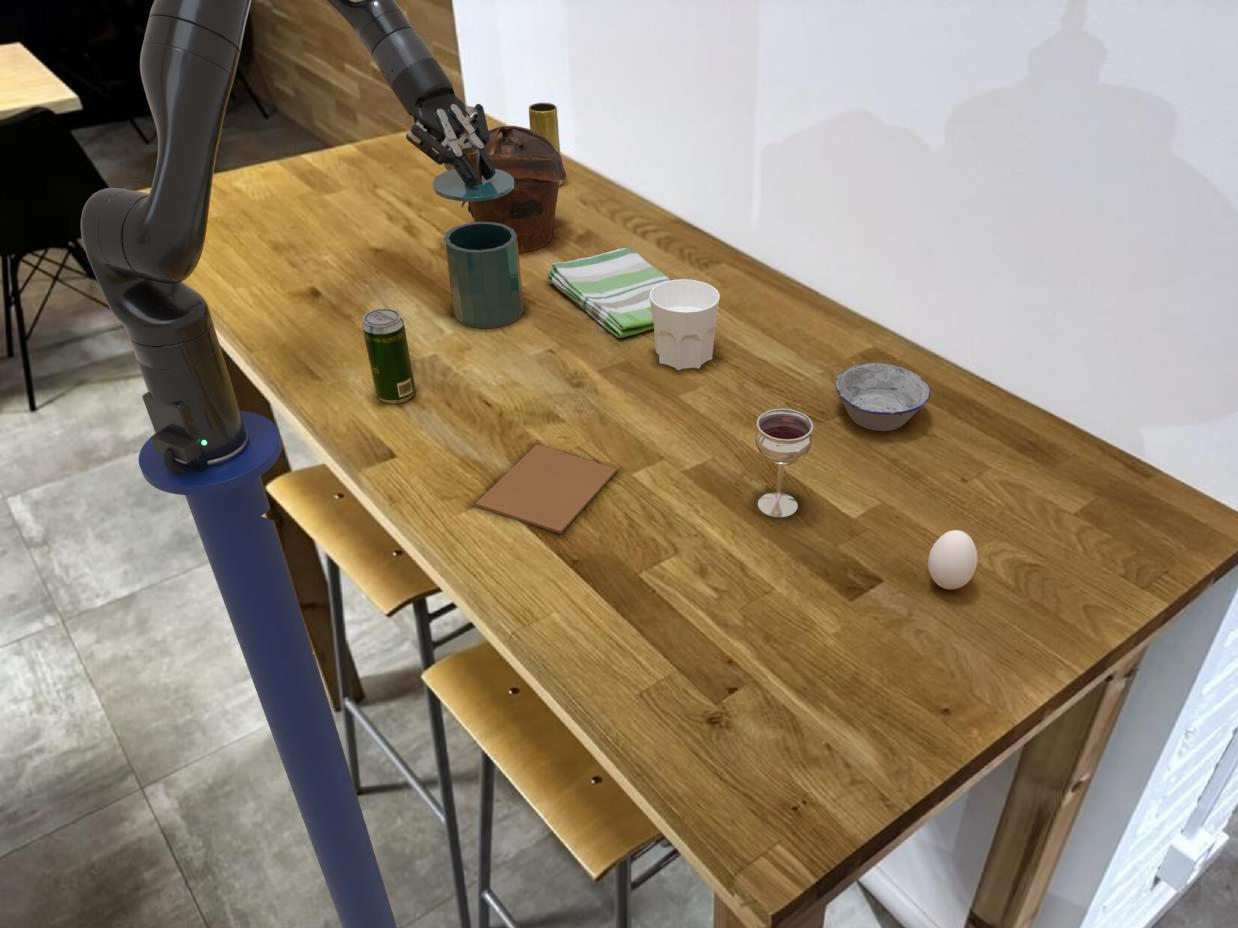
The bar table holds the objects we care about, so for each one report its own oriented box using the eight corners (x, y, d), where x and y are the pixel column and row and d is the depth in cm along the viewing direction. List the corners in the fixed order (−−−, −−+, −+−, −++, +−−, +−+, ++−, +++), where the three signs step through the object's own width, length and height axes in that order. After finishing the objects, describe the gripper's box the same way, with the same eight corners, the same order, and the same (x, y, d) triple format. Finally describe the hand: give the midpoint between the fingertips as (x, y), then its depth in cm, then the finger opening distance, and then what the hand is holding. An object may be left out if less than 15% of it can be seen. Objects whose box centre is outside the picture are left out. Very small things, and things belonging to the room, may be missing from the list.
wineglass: (753, 522, 130) (758, 441, 123) (748, 488, 136) (753, 408, 128) (808, 521, 131) (817, 440, 123) (801, 487, 136) (809, 408, 128)
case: (521, 206, 199) (512, 107, 188) (591, 240, 189) (586, 138, 178) (440, 233, 189) (425, 131, 178) (510, 271, 179) (499, 165, 168)
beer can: (424, 391, 150) (411, 314, 143) (397, 409, 147) (382, 331, 139) (395, 380, 152) (381, 303, 145) (368, 397, 149) (351, 320, 141)
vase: (525, 182, 208) (519, 107, 199) (547, 173, 212) (542, 99, 203) (549, 190, 205) (543, 115, 196) (570, 181, 209) (566, 106, 200)
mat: (561, 534, 128) (560, 531, 127) (476, 506, 131) (475, 503, 131) (617, 471, 137) (617, 468, 137) (536, 447, 141) (536, 444, 141)
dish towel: (633, 259, 184) (633, 239, 182) (711, 313, 170) (712, 293, 168) (545, 283, 176) (543, 263, 174) (619, 343, 162) (618, 322, 160)
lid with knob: (485, 211, 150) (481, 171, 146) (416, 195, 153) (411, 156, 149) (530, 183, 158) (527, 145, 154) (463, 169, 161) (459, 130, 158)
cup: (709, 336, 165) (711, 277, 158) (723, 370, 157) (726, 309, 151) (645, 341, 163) (644, 281, 156) (656, 376, 155) (656, 314, 149)
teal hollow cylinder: (499, 334, 163) (490, 257, 155) (440, 318, 166) (429, 242, 158) (536, 305, 171) (529, 230, 163) (479, 290, 174) (470, 216, 166)
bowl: (881, 453, 142) (885, 422, 139) (812, 411, 150) (816, 381, 147) (943, 419, 149) (949, 389, 146) (875, 381, 156) (880, 351, 153)
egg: (931, 563, 126) (942, 513, 121) (975, 577, 124) (988, 526, 119) (917, 591, 122) (928, 540, 117) (963, 606, 120) (976, 555, 115)
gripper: (383, 67, 144) (457, 180, 146) (460, 45, 152) (529, 152, 155) (363, 99, 149) (436, 207, 152) (439, 76, 158) (506, 179, 161)
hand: (483, 179), depth 153 cm, fingers closed on lid with knob, 2 cm apart
